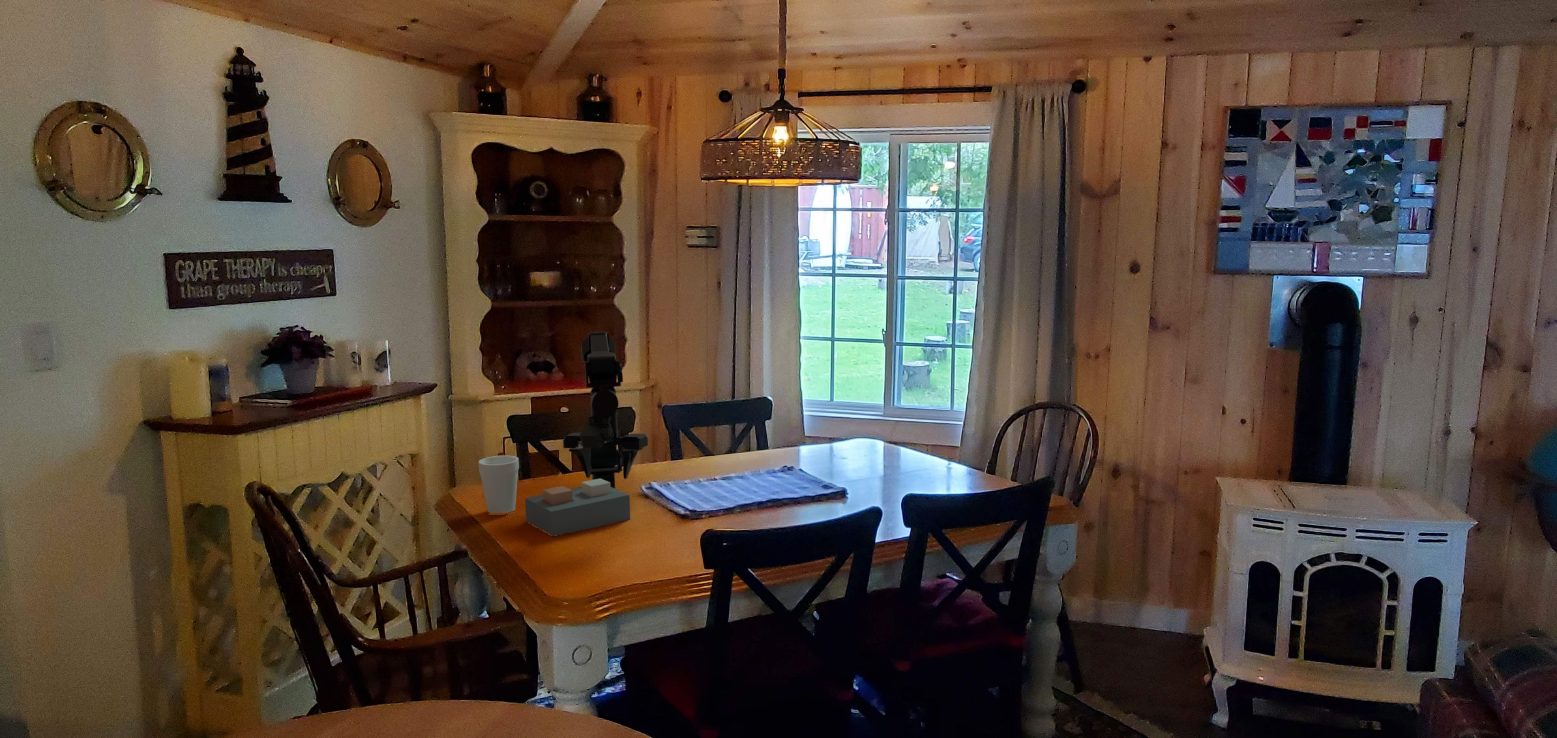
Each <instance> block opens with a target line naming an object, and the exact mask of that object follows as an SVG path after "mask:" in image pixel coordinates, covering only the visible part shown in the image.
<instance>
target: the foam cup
mask: <svg viewBox="0 0 1557 738" xmlns="http://www.w3.org/2000/svg"><path fill="white" fill-rule="evenodd" d="M519 463H520V461H519V457H517V456H514V455H493V456H488V457H484V458H482V459H479V460H478V472H479V473H480V478H481V482H482V483H481V484H482V488H483V493H484V499H485V503H486V508H487V511H488V512H490V513H508V512H511V511H514V510H515V511H516V502H517V491H518V490H517V488H518V487H517V486H518V477H519V476H518V475H519V469H520V464H519ZM488 512H487V513H488Z"/></svg>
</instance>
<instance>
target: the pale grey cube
mask: <svg viewBox="0 0 1557 738" xmlns="http://www.w3.org/2000/svg"><path fill="white" fill-rule="evenodd" d="M581 487H582V493H583V494H585V495H587V496H589V497H596V496H600V495H605V494H610V493H611V487H610V482H608V481H605V480H603V479H595V480H592V479H590V480H586V481H581Z"/></svg>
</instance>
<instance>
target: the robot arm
mask: <svg viewBox="0 0 1557 738" xmlns="http://www.w3.org/2000/svg"><path fill="white" fill-rule="evenodd" d="M609 334H610V333H609V332H606V331H592V332H589V333H587V337H586V338H585V339H584V340H581V343H580V346H581V347H580V351H581V352H580V353H581V354H580V355H581V362H582V363H584V371H585V373H584V374H585V375H584V376H585V388H586V389H588V388H589V389H591V390H590V408H591V409H590V412H591V413H590V414H591V415H590V416H588V425H587V426H586V427H584V429H583V430H582V431H581V432H573V433H569V434H566V435H564V437H563V440H562V448H564V449H568V451H569V452H570V453H571V452H572V453H573V454H574V455H575V456H576V457H577V460H578V461H579V463H580V465H581V467H582V469H583V472H584V474H585V477H586V478H587V479H589V478H591V480H595V479H603V480H605V481H608V482H610V487H612V488H615V489H616V476H615V474H617V473H618V474H620V473H621V472H622V474H623V480H627V479H628V477H629V474H630V472H631V469H632V466H633V463H634V460H635V459H636V457H637V454H638V453H639V451H642V450H643V448H645V447H647V446H649V439H648V437H647V435H646V434H645V433H629V434H626V435H624V436H621V431H620V430H618V419H619V418H620V413H618V411H617V410H618V407H619V399H618V396H617V390H616V389H615V387H622V386H621V383H624V378H623V377H624V376H623V367H622V366H623V365H622V364H621V363H620V360H619V359H616V354H617V352H616V351H617V350H616V341H615V340H614V339H612V338H611V337H610V335H609ZM617 446H621V447H622V448H623V449H622V450H621V452H620V450H619V449H617Z"/></svg>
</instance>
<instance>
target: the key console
mask: <svg viewBox="0 0 1557 738" xmlns="http://www.w3.org/2000/svg"><path fill="white" fill-rule="evenodd" d="M569 489H570V490H572V498H573V501H572V502H567V503H562V504H558V505H553V506H552V505H550V504H548V503H546V502H544V501H543V493H542V494H538V495H533V496H529V497H528V496H527V497H524V505H525V507H524V508H525V521H527V522H529V523H530V524H533V525H534V526H536V527H538V528H540V529H541V530H544V531H545V532H547V533H549V534H550V535H552V536H555V535H560V536H562V535H561V534H565V533H569V534H571V533H570V532H573V533H577V532H576V531H578V532H581V531H580V530H582V531H586V530H589V529H590V530H591V529H594V528H598V527H603V526H607V525H612V524H617V523H620V522H624V521H628V520H631V503H630V500H631V499H630V496H631V495H630V494H629V493H626V492H623V491H622V490H619V489H616V487H615V488H612V487H611V493H610V494H605V495H600V496H596V497H589V496H587V495H585V494H583V493H582V486H578V487H573V488H569ZM530 524H529V525H530ZM534 526H533V527H534ZM541 530H540V531H541ZM550 535H549V536H550ZM565 535H566V534H565Z"/></svg>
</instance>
